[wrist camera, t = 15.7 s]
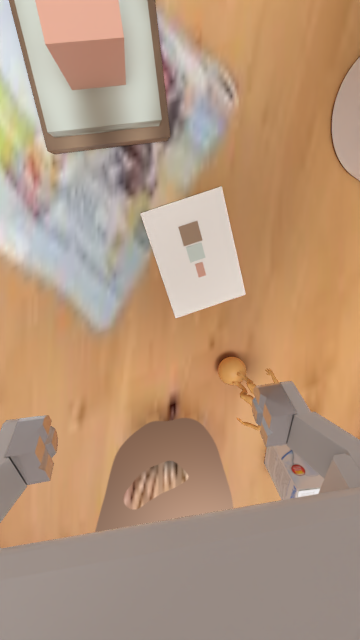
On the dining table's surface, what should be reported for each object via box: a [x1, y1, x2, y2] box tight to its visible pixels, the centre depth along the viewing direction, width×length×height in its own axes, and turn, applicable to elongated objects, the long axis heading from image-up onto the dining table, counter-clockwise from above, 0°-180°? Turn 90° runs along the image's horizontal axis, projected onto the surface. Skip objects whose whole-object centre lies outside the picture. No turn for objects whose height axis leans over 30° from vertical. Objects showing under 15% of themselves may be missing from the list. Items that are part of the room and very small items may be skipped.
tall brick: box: [35, 0, 126, 90], centre depth 21 cm, size 4×4×9 cm
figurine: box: [218, 357, 279, 430], centre depth 41 cm, size 8×6×12 cm
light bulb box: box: [264, 444, 324, 500], centre depth 50 cm, size 11×7×11 cm, turn 91°
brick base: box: [9, 0, 170, 154], centre depth 28 cm, size 12×12×6 cm
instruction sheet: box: [140, 186, 246, 318], centre depth 39 cm, size 10×14×1 cm
